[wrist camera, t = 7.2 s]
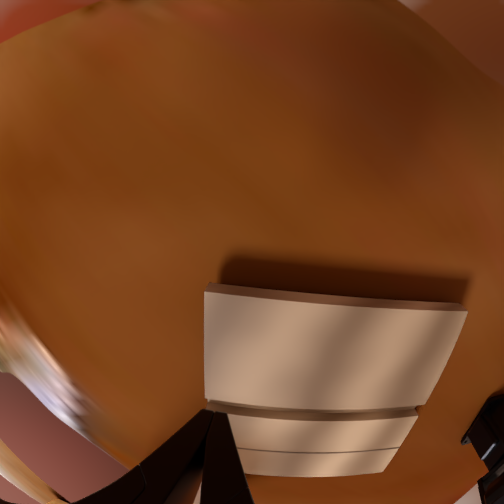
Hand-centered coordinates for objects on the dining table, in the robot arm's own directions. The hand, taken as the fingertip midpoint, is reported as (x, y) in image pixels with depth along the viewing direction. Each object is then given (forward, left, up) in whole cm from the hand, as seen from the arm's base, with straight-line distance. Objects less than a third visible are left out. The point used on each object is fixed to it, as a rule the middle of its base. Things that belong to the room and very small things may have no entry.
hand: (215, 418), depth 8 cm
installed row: (-6, +12, -9) cm, 16 cm away
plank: (-6, +2, -8) cm, 11 cm away
